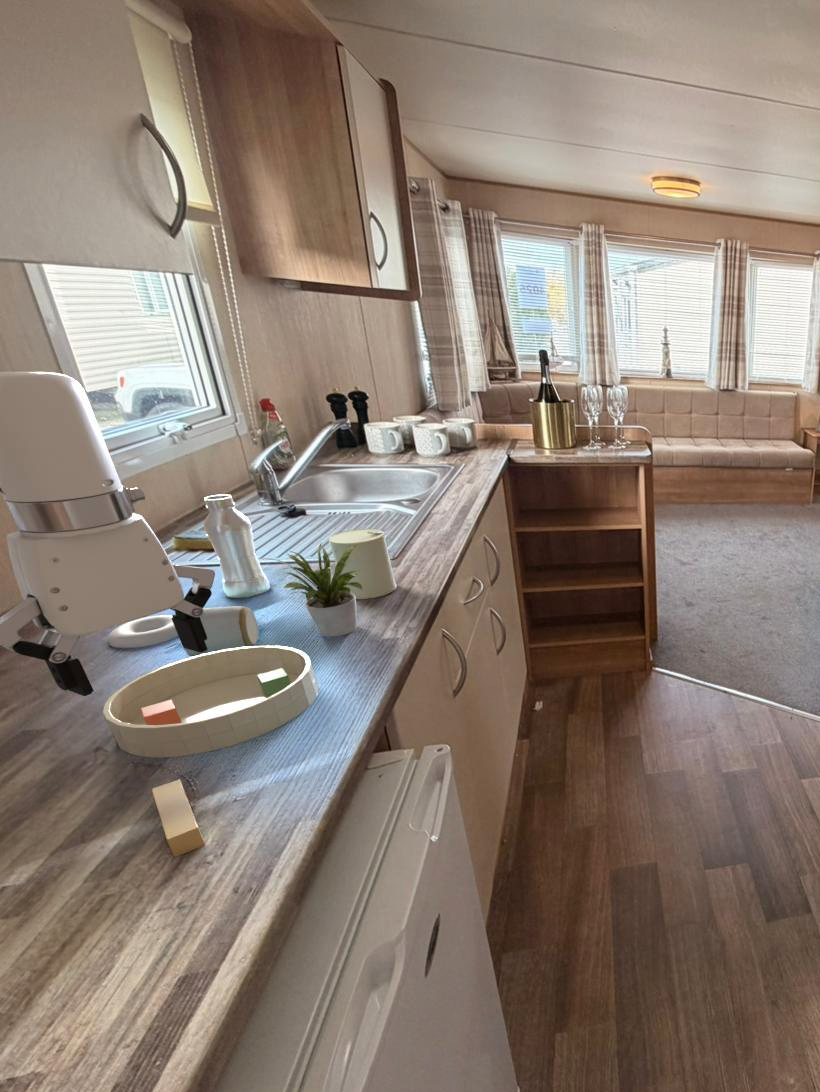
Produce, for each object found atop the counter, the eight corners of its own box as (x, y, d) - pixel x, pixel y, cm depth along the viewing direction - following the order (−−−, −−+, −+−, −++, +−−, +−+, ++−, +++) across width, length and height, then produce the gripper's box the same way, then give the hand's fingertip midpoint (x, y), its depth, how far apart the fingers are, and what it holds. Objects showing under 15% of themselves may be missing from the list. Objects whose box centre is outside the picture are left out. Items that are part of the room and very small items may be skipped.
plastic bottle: (227, 597, 122) (192, 495, 114) (272, 590, 126) (241, 491, 118) (228, 609, 117) (191, 503, 109) (274, 601, 121) (242, 498, 113)
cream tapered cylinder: (401, 592, 127) (388, 535, 122) (346, 603, 122) (330, 544, 117) (392, 578, 134) (379, 523, 129) (339, 587, 128) (324, 531, 123)
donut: (211, 630, 110) (148, 628, 109) (204, 612, 109) (141, 610, 108) (162, 658, 101) (93, 657, 100) (154, 639, 99) (84, 637, 99)
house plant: (273, 661, 101) (242, 566, 95) (284, 626, 112) (256, 538, 105) (379, 643, 108) (356, 553, 102) (379, 612, 119) (359, 529, 112)
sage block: (268, 701, 90) (261, 682, 89) (262, 692, 92) (256, 675, 91) (293, 693, 92) (287, 675, 91) (288, 685, 94) (282, 667, 93)
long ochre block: (158, 805, 72) (151, 788, 71) (187, 795, 74) (179, 778, 73) (174, 857, 65) (166, 839, 64) (205, 845, 67) (197, 827, 66)
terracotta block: (152, 736, 82) (143, 717, 81) (149, 727, 84) (140, 708, 83) (183, 727, 84) (175, 708, 83) (179, 717, 86) (171, 699, 85)
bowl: (72, 746, 81) (55, 712, 78) (238, 665, 100) (228, 637, 98) (210, 773, 77) (196, 739, 75) (355, 685, 96) (347, 656, 94)
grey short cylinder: (254, 655, 103) (240, 612, 100) (188, 665, 99) (171, 620, 96) (268, 629, 111) (255, 588, 108) (207, 637, 108) (192, 595, 105)
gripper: (160, 487, 68) (213, 629, 75) (-90, 530, 53) (4, 702, 60) (206, 496, 66) (255, 641, 73) (-43, 544, 51) (49, 721, 58)
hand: (141, 669), depth 67 cm, fingers open, 9 cm apart
